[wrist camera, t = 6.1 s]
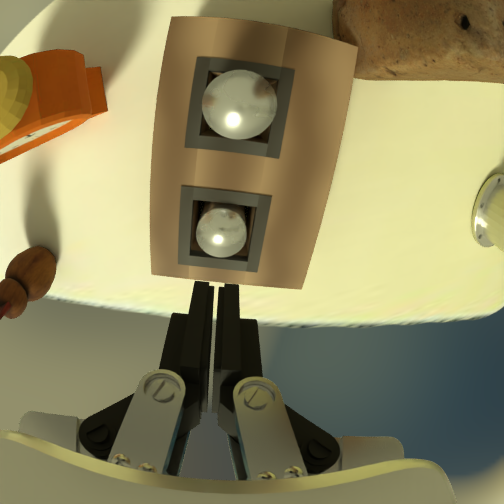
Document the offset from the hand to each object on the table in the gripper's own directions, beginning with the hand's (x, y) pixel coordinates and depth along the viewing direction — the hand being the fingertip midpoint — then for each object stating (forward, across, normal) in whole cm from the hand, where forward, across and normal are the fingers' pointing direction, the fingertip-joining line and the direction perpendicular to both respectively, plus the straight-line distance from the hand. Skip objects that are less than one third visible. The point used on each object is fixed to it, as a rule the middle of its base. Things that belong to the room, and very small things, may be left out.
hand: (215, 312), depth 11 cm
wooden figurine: (+19, +25, +12) cm, 34 cm away
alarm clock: (+19, +19, -8) cm, 28 cm away
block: (+19, -11, -18) cm, 29 cm away
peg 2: (+18, 0, +2) cm, 18 cm away
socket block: (+19, -1, -4) cm, 19 cm away
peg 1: (+14, 0, -8) cm, 16 cm away
